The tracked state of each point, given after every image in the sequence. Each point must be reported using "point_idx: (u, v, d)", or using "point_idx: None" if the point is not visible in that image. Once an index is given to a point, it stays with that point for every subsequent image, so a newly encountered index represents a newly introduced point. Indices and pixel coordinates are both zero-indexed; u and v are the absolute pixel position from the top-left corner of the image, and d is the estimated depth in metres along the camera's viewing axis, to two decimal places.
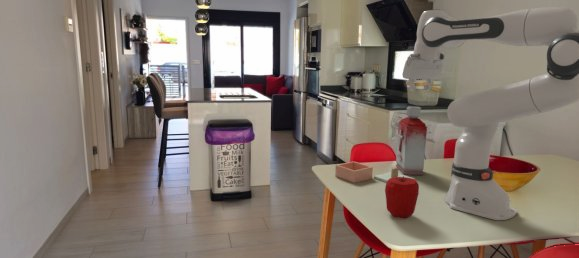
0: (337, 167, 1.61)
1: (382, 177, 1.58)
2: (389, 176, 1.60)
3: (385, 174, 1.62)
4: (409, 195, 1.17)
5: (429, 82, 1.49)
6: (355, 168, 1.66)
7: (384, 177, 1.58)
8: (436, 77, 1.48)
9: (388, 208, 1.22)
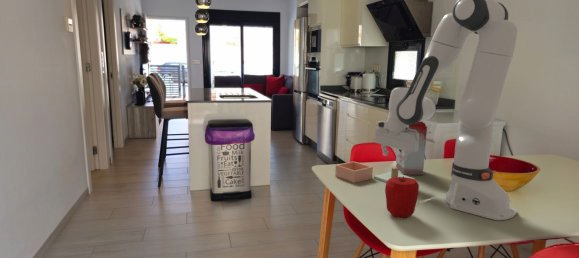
0: (337, 167, 1.61)
1: (382, 177, 1.58)
2: (389, 176, 1.60)
3: (385, 174, 1.62)
4: (409, 195, 1.17)
5: (384, 147, 1.62)
6: (355, 168, 1.66)
7: (384, 177, 1.58)
8: None
9: (388, 208, 1.22)
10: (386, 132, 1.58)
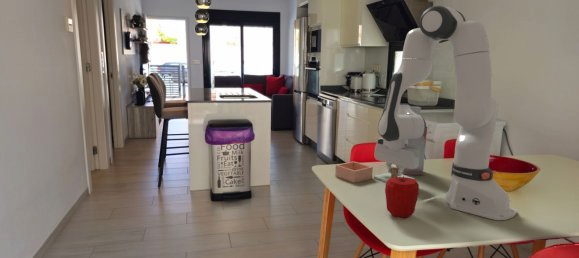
0: (337, 167, 1.61)
1: (382, 177, 1.58)
2: (389, 176, 1.60)
3: (385, 174, 1.62)
4: (409, 195, 1.17)
5: (390, 165, 1.60)
6: (355, 168, 1.66)
7: (384, 177, 1.58)
8: None
9: (388, 208, 1.22)
10: (386, 149, 1.58)
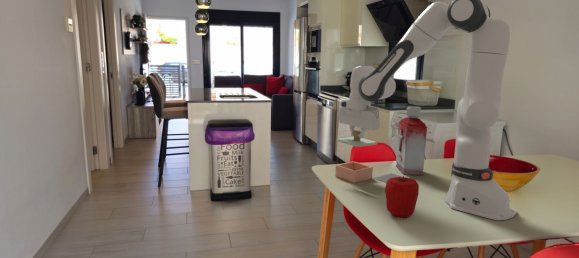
0: (337, 167, 1.61)
1: (344, 139, 1.58)
2: (352, 139, 1.60)
3: (348, 138, 1.62)
4: (409, 195, 1.17)
5: (353, 128, 1.60)
6: (355, 168, 1.66)
7: (346, 140, 1.58)
8: None
9: (388, 208, 1.22)
10: (349, 111, 1.58)
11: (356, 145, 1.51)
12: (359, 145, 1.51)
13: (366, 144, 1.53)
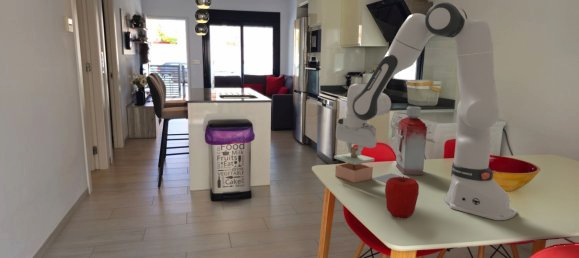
0: (337, 167, 1.61)
1: (342, 157, 1.59)
2: (349, 156, 1.61)
3: (346, 154, 1.63)
4: (409, 195, 1.17)
5: (350, 145, 1.61)
6: (355, 168, 1.66)
7: (344, 157, 1.59)
8: None
9: (388, 208, 1.22)
10: (346, 129, 1.59)
11: (353, 163, 1.52)
12: (356, 163, 1.52)
13: (363, 161, 1.54)
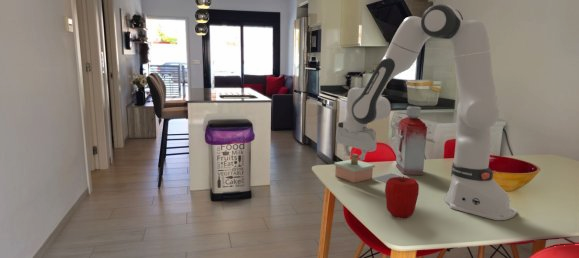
0: (337, 167, 1.61)
1: (342, 164, 1.59)
2: (349, 163, 1.61)
3: (346, 161, 1.64)
4: (409, 195, 1.17)
5: (347, 148, 1.63)
6: None
7: (344, 164, 1.59)
8: None
9: (388, 208, 1.22)
10: (346, 132, 1.60)
11: (353, 170, 1.52)
12: (356, 170, 1.52)
13: (363, 168, 1.55)
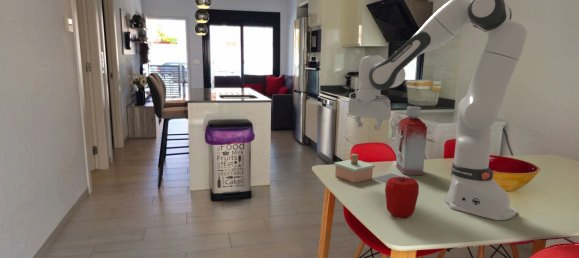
0: (337, 167, 1.61)
1: (342, 164, 1.59)
2: (349, 163, 1.61)
3: (346, 161, 1.64)
4: (409, 195, 1.17)
5: (359, 119, 1.61)
6: None
7: (344, 164, 1.59)
8: None
9: (388, 208, 1.22)
10: (358, 103, 1.57)
11: (353, 170, 1.52)
12: (356, 170, 1.52)
13: (363, 168, 1.55)
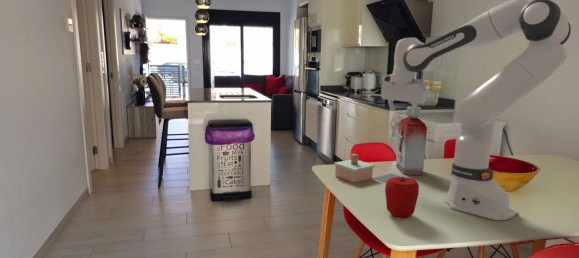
0: (337, 167, 1.61)
1: (342, 164, 1.59)
2: (349, 163, 1.61)
3: (346, 161, 1.64)
4: (409, 195, 1.17)
5: (391, 103, 1.60)
6: None
7: (344, 164, 1.59)
8: None
9: (388, 208, 1.22)
10: (392, 86, 1.56)
11: (353, 170, 1.52)
12: (356, 170, 1.52)
13: (363, 168, 1.55)
